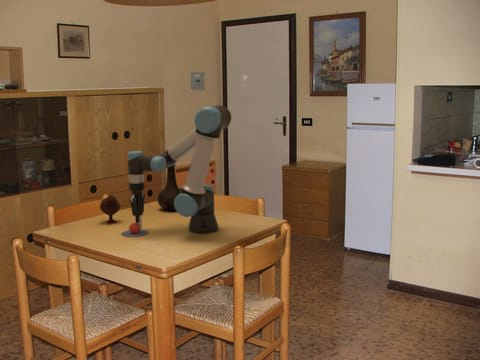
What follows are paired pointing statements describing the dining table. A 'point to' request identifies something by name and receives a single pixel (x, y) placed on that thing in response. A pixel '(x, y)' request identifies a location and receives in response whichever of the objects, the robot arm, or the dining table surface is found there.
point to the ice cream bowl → (110, 207)
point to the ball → (134, 228)
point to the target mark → (129, 234)
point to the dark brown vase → (169, 191)
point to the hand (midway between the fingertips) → (138, 228)
